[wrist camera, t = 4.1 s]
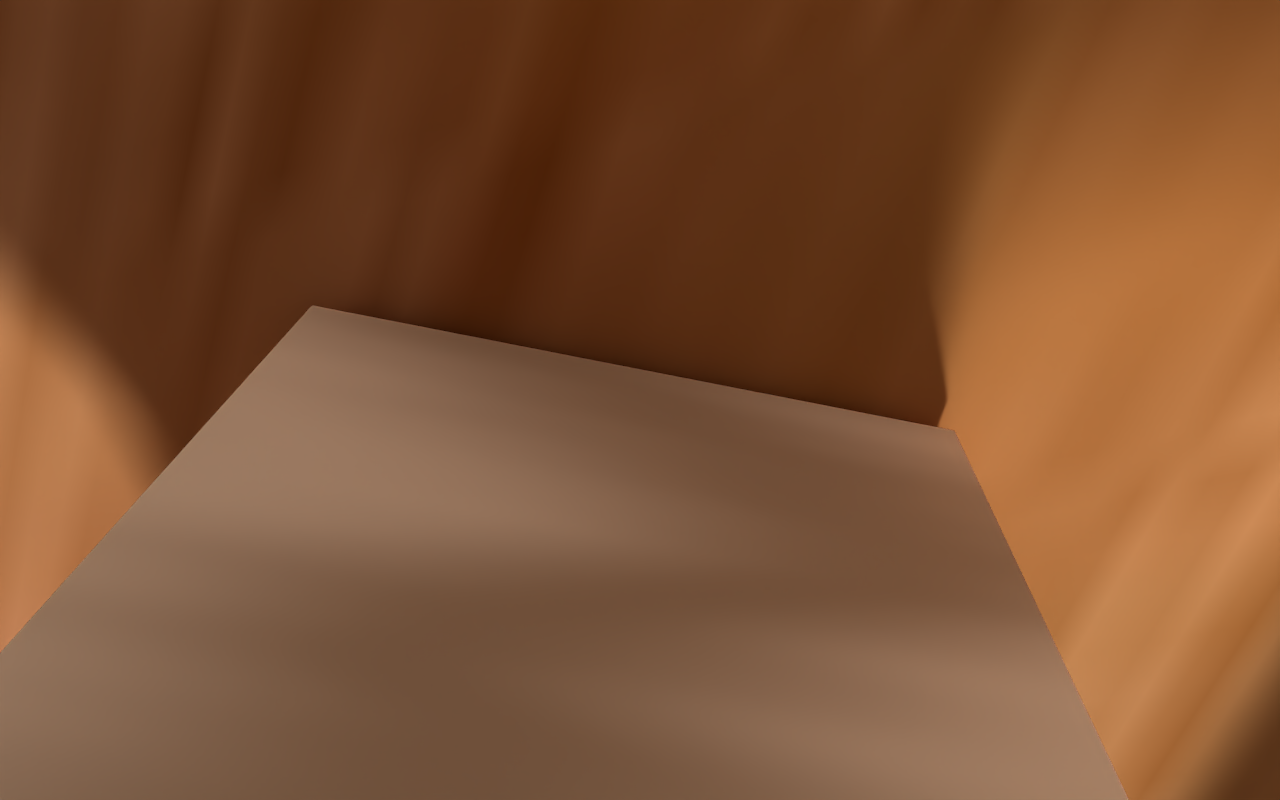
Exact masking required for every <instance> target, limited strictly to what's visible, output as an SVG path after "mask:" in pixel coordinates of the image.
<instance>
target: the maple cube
mask: <svg viewBox="0 0 1280 800" xmlns="http://www.w3.org/2000/svg"><path fill="white" fill-rule="evenodd" d="M0 800H1129V799H1128V797H1127V795H1126V793H1125V791H1124V789H1123V787H1122V784H1121V782H1120V780H1119V778H1118V776H1117V774H1116V772H1115V770H1114V767H1113V765H1112V763H1111V761H1110V759H1109V757H1108V755H1107V753H1106V751H1105V748H1104V746H1103V744H1102V742H1101V740H1100V738H1099V736H1098V734H1097V732H1096V729H1095V727H1094V725H1093V723H1092V721H1091V719H1090V717H1089V715H1088V712H1087V710H1086V708H1085V706H1084V704H1083V702H1082V700H1081V698H1080V696H1079V693H1078V691H1077V689H1076V687H1075V685H1074V683H1073V681H1072V679H1071V676H1070V674H1069V672H1068V670H1067V668H1066V666H1065V664H1064V662H1063V660H1062V657H1061V655H1060V653H1059V651H1058V649H1057V647H1056V645H1055V643H1054V641H1053V638H1052V636H1051V634H1050V632H1049V630H1048V628H1047V626H1046V624H1045V621H1044V619H1043V617H1042V615H1041V613H1040V611H1039V609H1038V607H1037V605H1036V602H1035V600H1034V598H1033V596H1032V594H1031V592H1030V590H1029V588H1028V585H1027V583H1026V581H1025V579H1024V577H1023V575H1022V573H1021V571H1020V569H1019V566H1018V564H1017V562H1016V560H1015V558H1014V556H1013V554H1012V552H1011V550H1010V547H1009V545H1008V543H1007V541H1006V539H1005V537H1004V535H1003V533H1002V530H1001V528H1000V526H999V524H998V522H997V520H996V518H995V516H994V514H993V511H992V509H991V507H990V505H989V503H988V501H987V499H986V497H985V494H984V492H983V490H982V488H981V486H980V484H979V482H978V480H977V478H976V475H975V473H974V471H973V469H972V467H971V465H970V463H969V461H968V459H967V456H966V454H965V452H964V450H963V448H962V446H961V444H960V442H959V439H958V437H957V435H956V433H955V431H954V430H949V429H944V428H939V427H934V426H929V425H923V424H918V423H913V422H908V421H903V420H898V419H893V418H888V417H882V416H877V415H872V414H867V413H862V412H857V411H852V410H847V409H841V408H836V407H831V406H826V405H821V404H816V403H811V402H806V401H800V400H795V399H790V398H785V397H780V396H775V395H770V394H765V393H759V392H754V391H749V390H744V389H739V388H734V387H729V386H724V385H718V384H713V383H708V382H703V381H698V380H693V379H688V378H683V377H677V376H672V375H667V374H662V373H657V372H652V371H647V370H642V369H636V368H631V367H626V366H621V365H616V364H611V363H606V362H601V361H595V360H590V359H585V358H580V357H575V356H570V355H565V354H559V353H554V352H549V351H544V350H539V349H534V348H529V347H524V346H518V345H513V344H508V343H503V342H498V341H493V340H488V339H483V338H477V337H472V336H467V335H462V334H457V333H452V332H447V331H442V330H436V329H431V328H426V327H421V326H416V325H411V324H406V323H401V322H395V321H390V320H385V319H380V318H375V317H370V316H365V315H360V314H354V313H349V312H344V311H339V310H334V309H329V308H324V307H319V306H313V305H312V306H311V307H310V308H309V309H308V310H307V311H306V312H305V314H304V315H303V316H302V317H301V318H300V319H299V320H298V321H297V323H296V324H295V325H294V326H293V327H292V328H291V329H290V330H289V331H288V333H287V334H286V335H285V336H284V337H283V338H282V339H281V340H280V341H279V343H278V344H277V345H276V346H275V347H274V348H273V349H272V350H271V351H270V353H269V354H268V355H267V356H266V357H265V358H264V359H263V360H262V362H261V363H260V364H259V365H258V366H257V367H256V368H255V369H254V370H253V372H252V373H251V374H250V375H249V376H248V377H247V378H246V379H245V380H244V382H243V383H242V384H241V385H240V386H239V387H238V388H237V389H236V391H235V392H234V393H233V394H232V395H231V396H230V397H229V398H228V399H227V401H226V402H225V403H224V404H223V405H222V406H221V407H220V408H219V409H218V411H217V412H216V413H215V414H214V415H213V416H212V417H211V418H210V419H209V421H208V422H207V423H206V424H205V425H204V426H203V427H202V428H201V430H200V431H199V432H198V433H197V434H196V435H195V436H194V437H193V438H192V440H191V441H190V442H189V443H188V444H187V445H186V446H185V447H184V448H183V450H182V451H181V452H180V453H179V454H178V455H177V456H176V457H175V458H174V460H173V461H172V462H171V463H170V464H169V465H168V466H167V467H166V469H165V470H164V471H163V472H162V473H161V474H160V475H159V476H158V477H157V479H156V480H155V481H154V482H153V483H152V484H151V485H150V486H149V487H148V489H147V490H146V491H145V492H144V493H143V494H142V495H141V496H140V498H139V499H138V500H137V501H136V502H135V503H134V504H133V505H132V506H131V508H130V509H129V510H128V511H127V512H126V513H125V514H124V515H123V516H122V518H121V519H120V520H119V521H118V522H117V523H116V524H115V525H114V526H113V528H112V529H111V530H110V531H109V532H108V533H107V534H106V535H105V537H104V538H103V539H102V540H101V541H100V542H99V543H98V544H97V545H96V547H95V548H94V549H93V550H92V551H91V552H90V553H89V554H88V555H87V557H86V558H85V559H84V560H83V561H82V562H81V563H80V564H79V565H78V567H77V568H76V569H75V570H74V571H73V572H72V573H71V574H70V576H69V577H68V578H67V579H66V580H65V581H64V582H63V583H62V584H61V586H60V587H59V588H58V589H57V590H56V591H55V592H54V593H53V594H52V596H51V597H50V598H49V599H48V600H47V601H46V602H45V603H44V605H43V606H42V607H41V608H40V609H39V610H38V611H37V612H36V613H35V615H34V616H33V617H32V618H31V619H30V620H29V621H28V622H27V623H26V625H25V626H24V627H23V628H22V629H21V630H20V631H19V632H18V633H17V635H16V636H15V637H14V638H13V639H12V640H11V641H10V642H9V644H8V645H7V646H6V647H5V648H4V649H3V650H2V651H1V652H0Z"/></svg>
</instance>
